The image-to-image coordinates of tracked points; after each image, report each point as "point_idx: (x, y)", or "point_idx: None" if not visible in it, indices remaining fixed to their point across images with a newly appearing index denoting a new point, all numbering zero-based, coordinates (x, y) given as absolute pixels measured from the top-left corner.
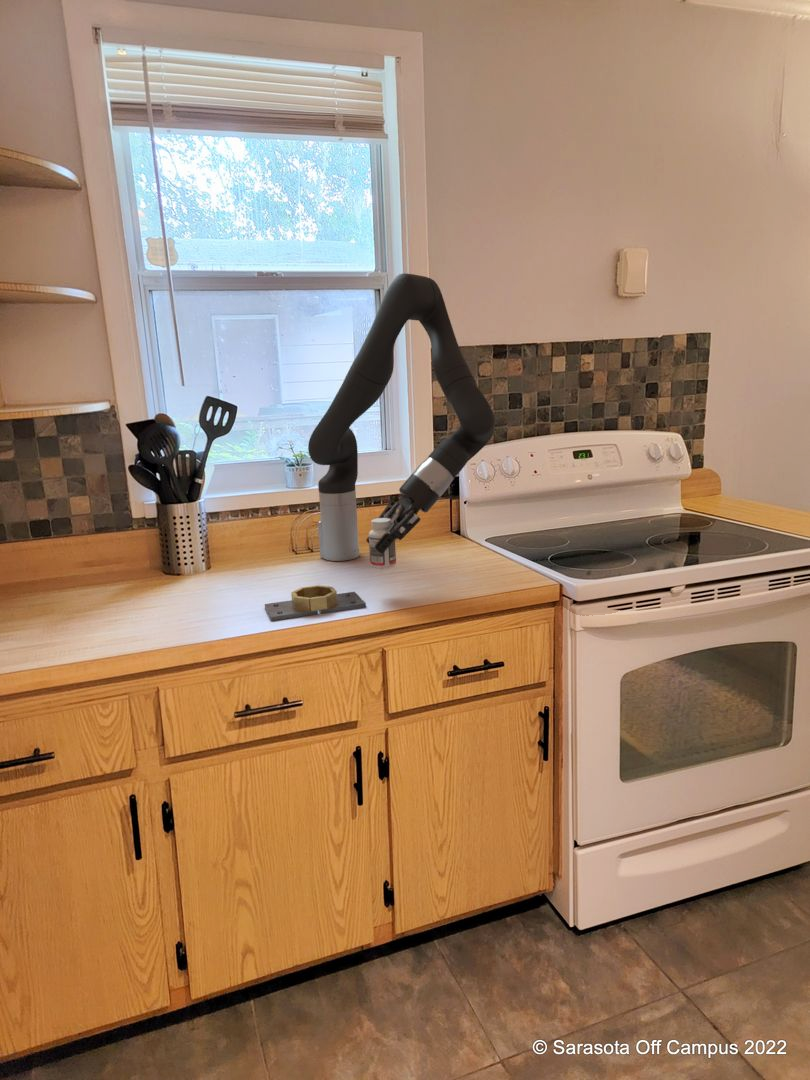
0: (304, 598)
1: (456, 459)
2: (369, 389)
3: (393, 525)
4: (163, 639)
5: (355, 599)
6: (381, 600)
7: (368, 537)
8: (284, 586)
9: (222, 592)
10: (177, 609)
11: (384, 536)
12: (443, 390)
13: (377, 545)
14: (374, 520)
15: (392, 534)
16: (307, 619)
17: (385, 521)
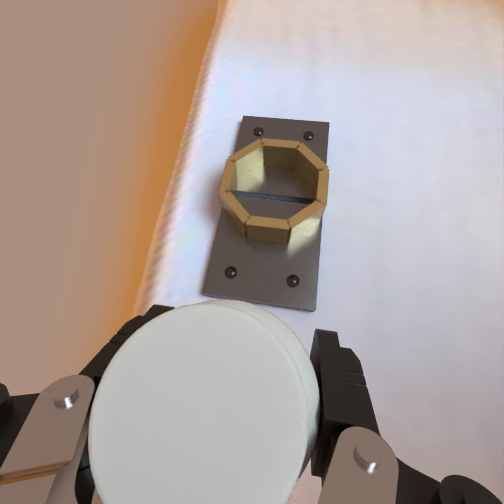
0: (238, 151)
1: None
2: None
3: (5, 461)
4: (259, 10)
5: (247, 284)
6: None
7: (328, 340)
8: (476, 193)
9: (475, 90)
10: (394, 30)
11: (108, 359)
12: None
13: (147, 314)
14: (219, 335)
15: (20, 397)
16: (212, 171)
17: (91, 417)
